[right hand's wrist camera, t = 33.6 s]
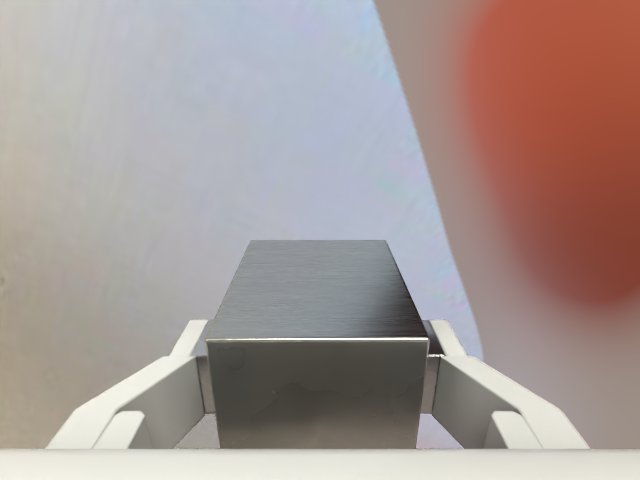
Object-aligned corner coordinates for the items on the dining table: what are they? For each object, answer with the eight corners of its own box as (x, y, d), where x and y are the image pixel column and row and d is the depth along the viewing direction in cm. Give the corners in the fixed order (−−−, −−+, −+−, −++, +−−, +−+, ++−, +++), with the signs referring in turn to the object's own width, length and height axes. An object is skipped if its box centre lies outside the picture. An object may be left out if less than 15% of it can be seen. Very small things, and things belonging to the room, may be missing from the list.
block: (260, 365, 13) (228, 511, 8) (250, 239, 11) (202, 339, 7) (377, 365, 13) (408, 511, 8) (386, 239, 11) (431, 339, 7)
